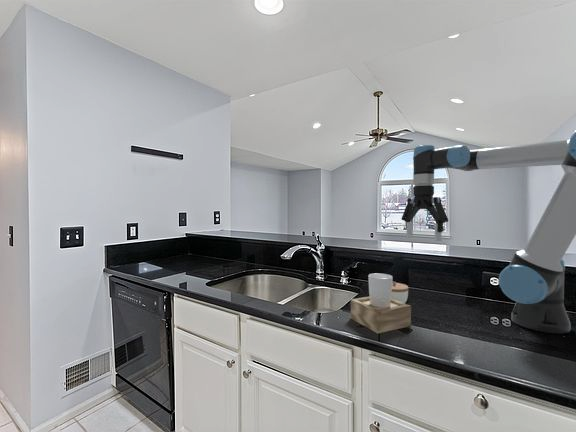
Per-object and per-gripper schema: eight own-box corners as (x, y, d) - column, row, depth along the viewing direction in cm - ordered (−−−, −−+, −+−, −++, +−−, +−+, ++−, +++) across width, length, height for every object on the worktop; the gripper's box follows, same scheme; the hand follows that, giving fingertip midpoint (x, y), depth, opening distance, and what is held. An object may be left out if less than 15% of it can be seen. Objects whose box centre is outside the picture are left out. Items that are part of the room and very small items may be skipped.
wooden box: (410, 326, 99) (411, 305, 99) (377, 333, 93) (377, 311, 93) (381, 312, 111) (381, 294, 111) (350, 318, 106) (350, 299, 106)
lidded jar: (407, 302, 124) (407, 279, 124) (409, 310, 114) (409, 286, 113) (380, 299, 127) (380, 277, 127) (379, 307, 117) (379, 283, 117)
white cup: (365, 301, 106) (365, 273, 105) (386, 300, 106) (386, 273, 106) (373, 309, 98) (373, 278, 97) (396, 308, 98) (396, 278, 98)
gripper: (459, 183, 108) (458, 241, 108) (406, 187, 130) (405, 236, 131) (445, 182, 104) (444, 243, 105) (393, 187, 127) (392, 236, 128)
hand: (423, 239), depth 118 cm, fingers open, 13 cm apart
